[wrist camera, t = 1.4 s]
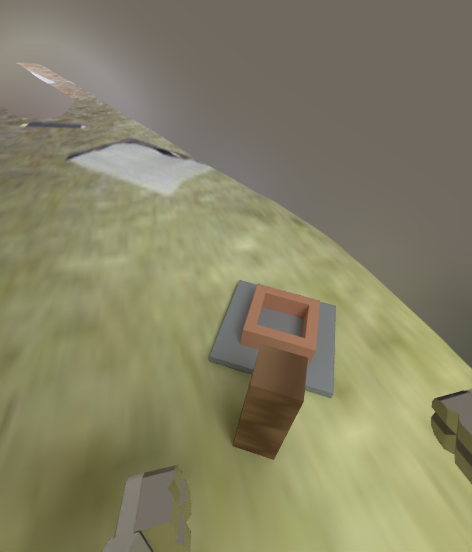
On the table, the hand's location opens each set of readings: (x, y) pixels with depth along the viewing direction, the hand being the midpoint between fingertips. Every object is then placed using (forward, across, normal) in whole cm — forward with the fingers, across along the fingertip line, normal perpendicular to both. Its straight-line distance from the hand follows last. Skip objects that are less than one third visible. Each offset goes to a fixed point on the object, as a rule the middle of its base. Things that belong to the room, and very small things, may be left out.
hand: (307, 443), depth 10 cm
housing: (+32, -4, +19) cm, 38 cm away
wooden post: (+18, +2, +22) cm, 29 cm away
